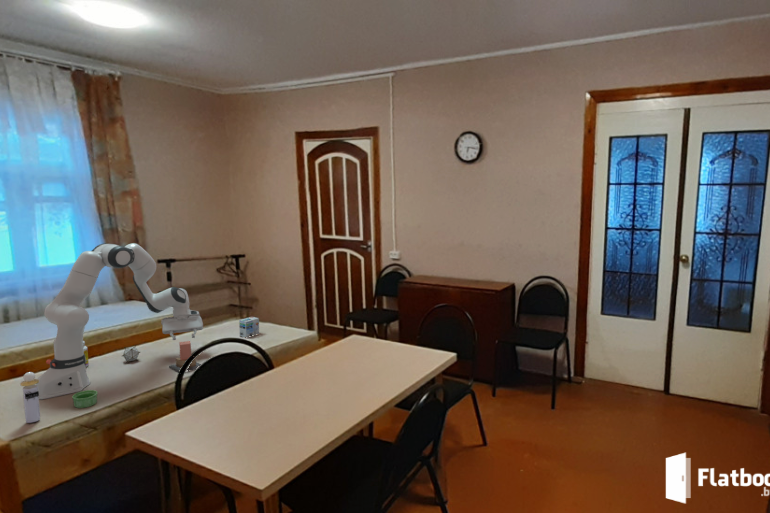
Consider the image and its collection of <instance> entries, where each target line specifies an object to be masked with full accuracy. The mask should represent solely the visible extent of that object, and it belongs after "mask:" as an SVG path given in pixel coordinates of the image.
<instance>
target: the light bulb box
mask: <svg viewBox="0 0 770 513" xmlns="http://www.w3.org/2000/svg"><path fill="white" fill-rule="evenodd" d="M238 324H239V337H240V336H242V337H241V338H243V337H249V336H252V335H256V334H259V335H260V318H259V317H255V316H250V317H246V318H242V319H239V323H238ZM256 336H257V335H256ZM249 338H250V337H249Z"/></svg>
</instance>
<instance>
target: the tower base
mask: <svg viewBox="0 0 770 513" xmlns="http://www.w3.org/2000/svg"><path fill="white" fill-rule="evenodd" d="M185 361H186V360H180V356H178V357H176V358H175V364H171V365H169V366H168V368H169V369H170V370H172V371H174V372H177V373H179V370H180V368H181V367H182V366H183V364H184V363H185ZM201 364H202V363H199V362H197V358H196V357H195V359H194V360H193V361H192V363H191V364H190V366H189V368H188V369H187V370H188V372H190V371H189V370H192V371H194V370H197V369H196V368H197V367H198V366H200V365H201Z"/></svg>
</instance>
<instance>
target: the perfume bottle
mask: <svg viewBox="0 0 770 513" xmlns="http://www.w3.org/2000/svg"><path fill="white" fill-rule="evenodd" d="M37 383H39V380H38V378H36V374H35V373H34V372H32V371H29V372H26V373H25V374H23V381H21V382H20V383H19V384H20V386H21V387H22V393H23V395H22V396H23V406H24V407H23V408H24V417H25V423H30V424H31V423H35V422H38V421H39V420H40V419H41V412H40V410H41V409H40V399H39V397H38V396H39V391H38V386H37V385H36V384H37Z"/></svg>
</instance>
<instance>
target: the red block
mask: <svg viewBox="0 0 770 513" xmlns="http://www.w3.org/2000/svg"><path fill="white" fill-rule="evenodd" d="M178 344H179V357H180V360H187V359H188V358H189V357H190V356H192V346H191V345H192V344H191V340H187V341H179V342H178Z"/></svg>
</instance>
